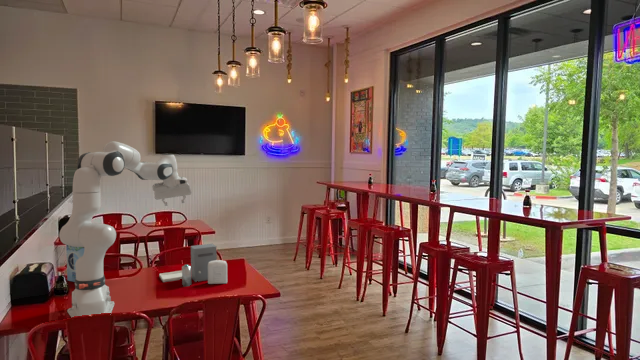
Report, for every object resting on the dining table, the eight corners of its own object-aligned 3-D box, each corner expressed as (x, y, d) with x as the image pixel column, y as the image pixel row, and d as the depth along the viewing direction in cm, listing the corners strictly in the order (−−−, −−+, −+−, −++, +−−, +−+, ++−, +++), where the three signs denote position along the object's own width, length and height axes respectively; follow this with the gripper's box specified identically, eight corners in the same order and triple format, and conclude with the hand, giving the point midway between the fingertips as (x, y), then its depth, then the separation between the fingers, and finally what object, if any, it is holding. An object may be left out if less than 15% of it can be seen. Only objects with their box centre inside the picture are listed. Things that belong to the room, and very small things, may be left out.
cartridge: (192, 285, 227) (191, 265, 226) (183, 286, 225) (182, 266, 224) (190, 283, 231) (189, 263, 230) (181, 284, 229) (180, 264, 228)
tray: (189, 278, 239) (189, 275, 239) (163, 282, 232) (163, 279, 232) (184, 272, 250) (184, 270, 250) (159, 276, 243) (159, 273, 243)
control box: (217, 278, 239) (216, 246, 237) (195, 282, 233) (194, 249, 231) (212, 274, 246) (212, 243, 245) (191, 277, 240) (190, 245, 239)
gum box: (67, 281, 236) (65, 239, 234) (75, 278, 240) (73, 237, 238) (92, 285, 228) (90, 242, 226) (100, 282, 232) (98, 240, 230)
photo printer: (227, 281, 234) (227, 258, 233) (227, 283, 230) (226, 261, 229) (208, 282, 232) (207, 259, 231) (207, 284, 228) (206, 261, 227)
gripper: (152, 185, 240) (155, 208, 244) (190, 180, 247) (193, 202, 251) (151, 182, 246) (155, 205, 250) (188, 177, 253) (192, 199, 257)
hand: (174, 204), depth 250 cm, fingers open, 8 cm apart
